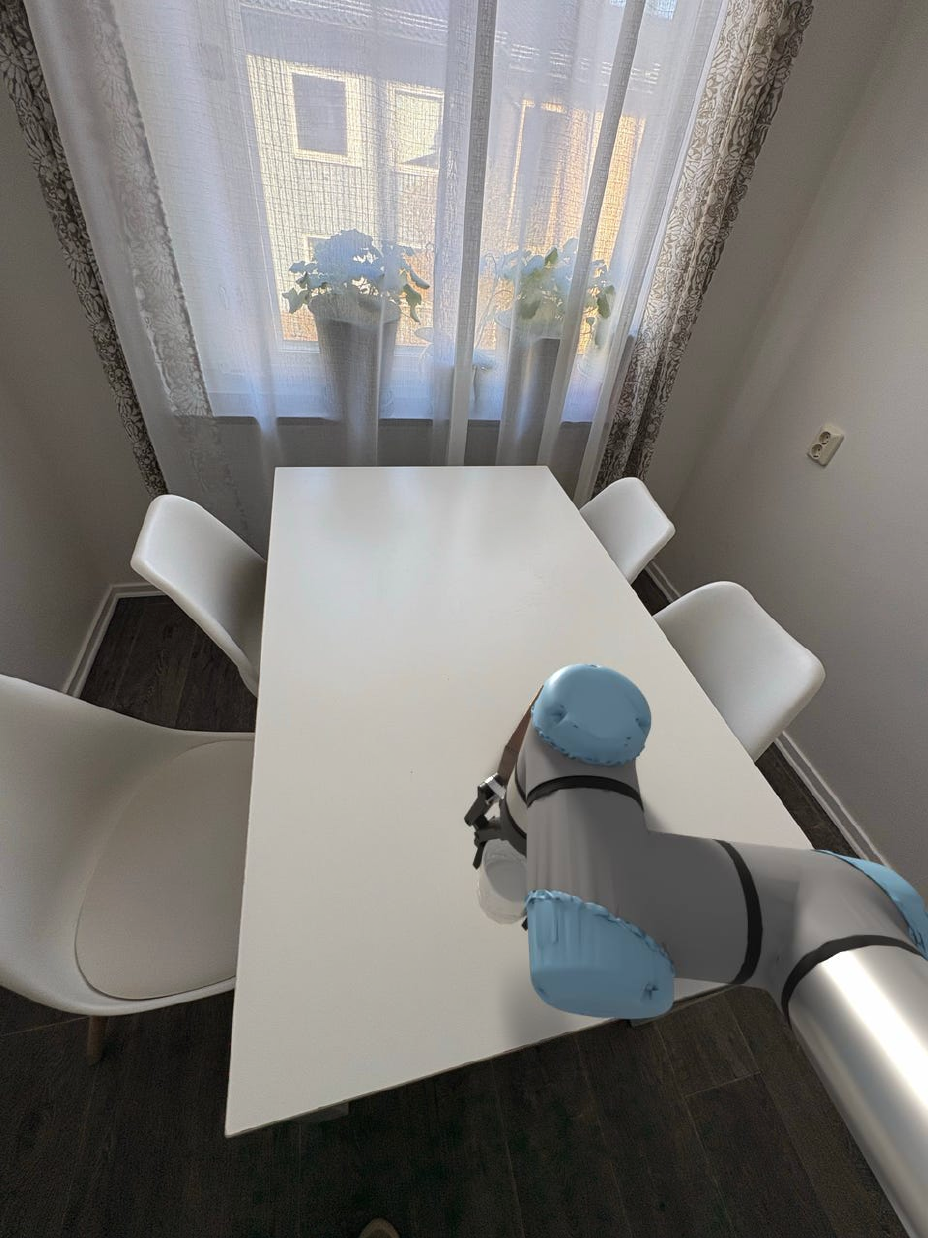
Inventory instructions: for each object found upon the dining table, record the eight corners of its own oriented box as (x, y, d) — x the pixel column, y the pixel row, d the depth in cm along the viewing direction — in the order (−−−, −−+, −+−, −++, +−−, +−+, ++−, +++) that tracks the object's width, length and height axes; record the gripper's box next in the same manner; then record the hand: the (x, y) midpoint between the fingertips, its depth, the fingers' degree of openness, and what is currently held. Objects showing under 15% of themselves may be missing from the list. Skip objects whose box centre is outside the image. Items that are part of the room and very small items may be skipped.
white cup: (471, 930, 58) (483, 902, 51) (471, 858, 64) (481, 824, 57) (539, 931, 59) (560, 905, 52) (533, 860, 64) (550, 828, 57)
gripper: (672, 871, 41) (593, 943, 57) (498, 702, 51) (472, 804, 67) (616, 940, 37) (548, 996, 53) (440, 742, 47) (427, 840, 63)
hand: (506, 889), depth 60 cm, fingers closed on white cup, 8 cm apart
